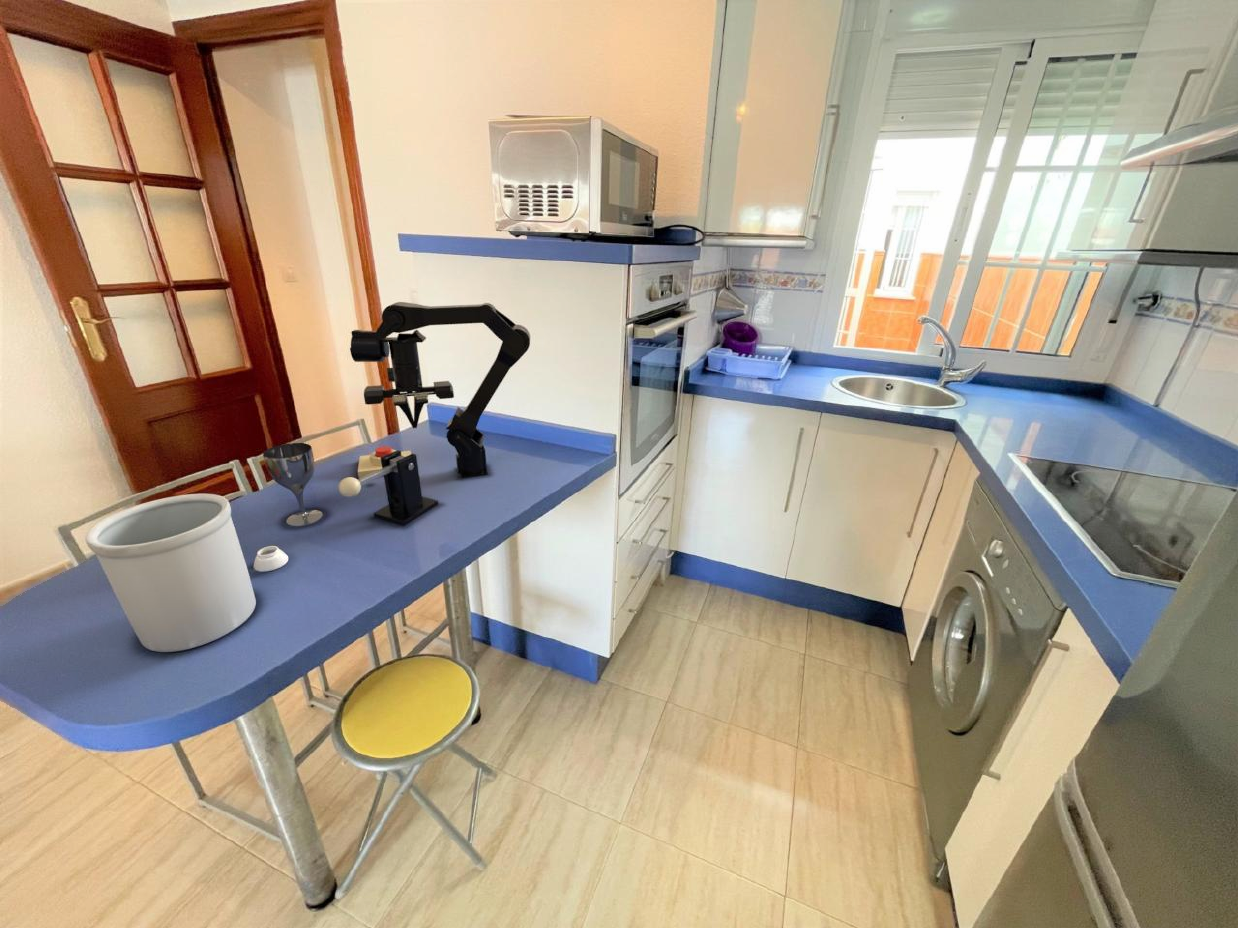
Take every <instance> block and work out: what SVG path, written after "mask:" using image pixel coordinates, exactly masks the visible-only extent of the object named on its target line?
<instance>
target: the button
mask: <svg viewBox="0 0 1238 928" xmlns="http://www.w3.org/2000/svg"><path fill="white" fill-rule="evenodd" d="M391 449H392V447H390V446H387V445H385V446H380V447H377V448H375V451H376V457H383V456H385V455H388V454H390V453H392V450H391ZM375 451H374V452H375Z"/></svg>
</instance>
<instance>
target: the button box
mask: <svg viewBox="0 0 1238 928" xmlns="http://www.w3.org/2000/svg"><path fill="white" fill-rule="evenodd" d="M391 450H392V452H394V451H397V450H398V449H397V450H396V449H393V448H391ZM411 454H412V452H411V450H404V451H401V456H404V457H406V456H409V455H411ZM380 469H382V464H381V457H376V451H373V452H371V453H370V454H367V455H360V456H359V459H358V466H357V477H358V479H360V478H362V477H364V476H366V475H369V474H371V473H373V472H375V471H378V470H380Z"/></svg>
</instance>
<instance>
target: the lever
mask: <svg viewBox="0 0 1238 928" xmlns="http://www.w3.org/2000/svg"><path fill="white" fill-rule="evenodd" d="M402 458H404V456H398V457H396V458H393V459H391V460H390V465H389V466H386V467H384V468H382V469H380V470H378V471H375V472H373V473H371V474H369V475H366V476H364V477H362V478H358V479H357V478H355V477H351V476H349V477H345V478H343V479H341V480H340V482H339V483H338V491H339V493H340V494H341V495H342V496H344V497H347V498H353V497H355V496H357V495H358V494H359V493H360V492H361V490H362V486H364V485H366V484H368V483H370V482H373V481H374V480H377V479H379V478H381V477H384V475H386V474H388V473H390V472H392V471H393V472H398V470H397V464H396V461H398V460H400V459H402Z"/></svg>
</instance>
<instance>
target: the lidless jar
mask: <svg viewBox="0 0 1238 928" xmlns="http://www.w3.org/2000/svg"><path fill="white" fill-rule="evenodd" d="M288 562H289V555H287V554H286V553H285V552H284V551H283V550H282V549H280V548H279V547H278V546H276V545H269V546H268V545H267V546H265V547H262V548H261V549H259V550H258V551H257V553H256V556H255V559H254V563H253V569H254V571H257V572H261V573H262V572H270V571H275V570H277V569H280V568H282V567H283V566H285V565H286V564H287V563H288Z"/></svg>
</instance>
